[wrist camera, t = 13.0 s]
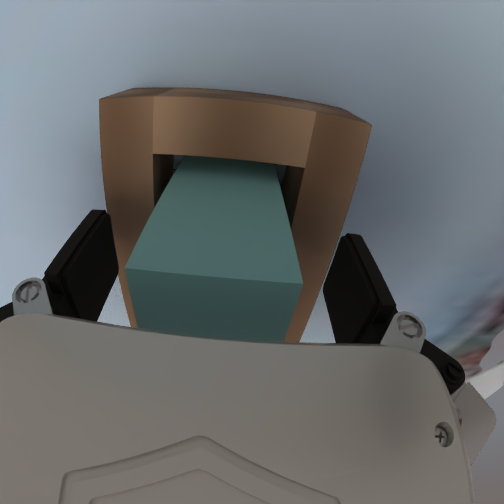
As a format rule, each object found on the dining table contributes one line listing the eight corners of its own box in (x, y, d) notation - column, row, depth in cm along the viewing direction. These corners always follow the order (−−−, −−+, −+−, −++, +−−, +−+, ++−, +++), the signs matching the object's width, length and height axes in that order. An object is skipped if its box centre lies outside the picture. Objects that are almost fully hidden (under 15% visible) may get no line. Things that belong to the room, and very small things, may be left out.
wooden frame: (342, 108, 13) (371, 125, 10) (281, 332, 24) (285, 373, 21) (133, 88, 12) (99, 99, 9) (151, 321, 23) (141, 360, 20)
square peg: (271, 154, 15) (303, 283, 7) (260, 223, 18) (271, 373, 10) (189, 147, 15) (124, 267, 7) (187, 217, 17) (147, 362, 9)
